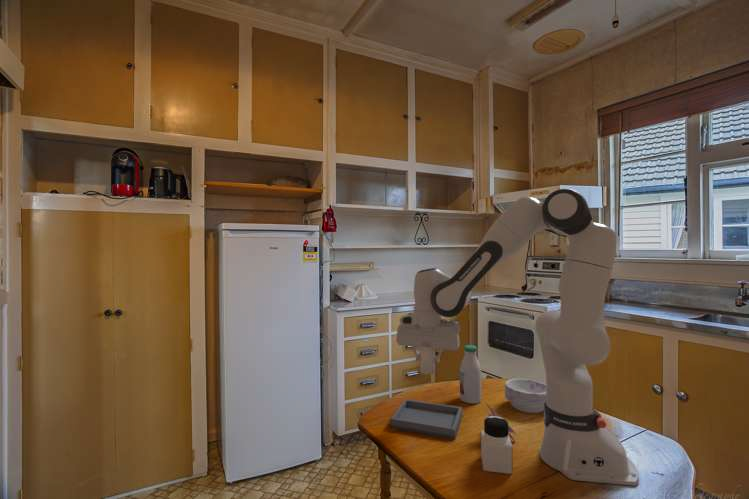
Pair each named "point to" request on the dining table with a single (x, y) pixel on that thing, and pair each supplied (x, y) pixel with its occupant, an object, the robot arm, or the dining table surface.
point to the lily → (498, 416)
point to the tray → (427, 418)
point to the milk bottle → (470, 376)
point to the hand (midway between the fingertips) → (427, 360)
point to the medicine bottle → (496, 446)
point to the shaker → (427, 359)
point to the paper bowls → (526, 394)
